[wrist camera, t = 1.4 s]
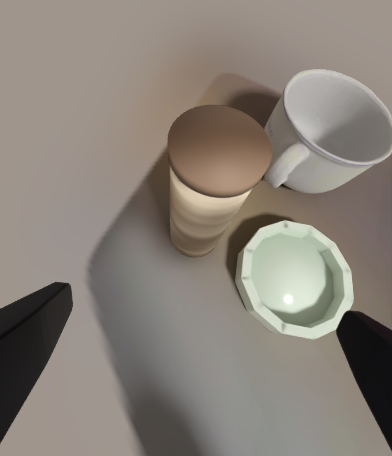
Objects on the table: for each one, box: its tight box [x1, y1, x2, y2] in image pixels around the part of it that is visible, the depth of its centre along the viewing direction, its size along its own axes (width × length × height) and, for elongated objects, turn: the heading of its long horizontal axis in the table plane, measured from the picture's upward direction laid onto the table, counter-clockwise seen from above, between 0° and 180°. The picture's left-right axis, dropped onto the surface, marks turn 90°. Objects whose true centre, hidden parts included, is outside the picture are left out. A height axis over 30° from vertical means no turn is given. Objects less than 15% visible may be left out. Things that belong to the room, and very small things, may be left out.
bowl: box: [235, 220, 354, 340], centre depth 20 cm, size 10×10×2 cm
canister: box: [168, 105, 272, 257], centre depth 16 cm, size 5×5×12 cm
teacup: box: [264, 69, 392, 193], centre depth 23 cm, size 14×11×8 cm
